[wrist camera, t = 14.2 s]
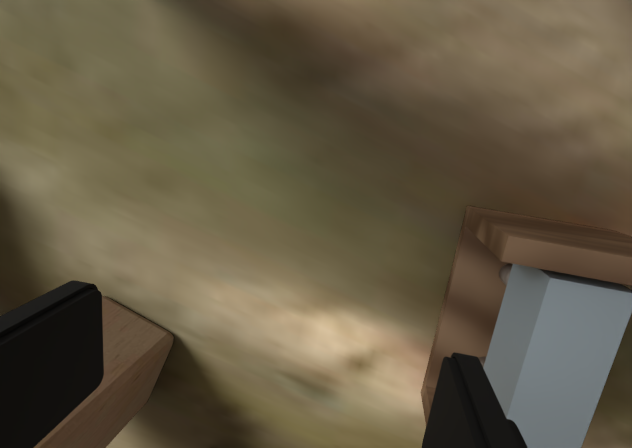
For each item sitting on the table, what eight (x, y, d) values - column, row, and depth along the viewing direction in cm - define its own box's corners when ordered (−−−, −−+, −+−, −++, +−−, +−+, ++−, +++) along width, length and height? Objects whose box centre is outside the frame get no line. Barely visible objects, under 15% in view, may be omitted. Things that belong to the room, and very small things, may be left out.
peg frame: (467, 205, 33) (508, 235, 22) (615, 230, 31) (737, 276, 21) (420, 392, 37) (437, 493, 27) (548, 422, 36) (620, 542, 25)
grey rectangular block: (516, 250, 29) (550, 277, 23) (586, 263, 28) (638, 294, 23) (472, 405, 32) (492, 463, 27) (533, 420, 32) (568, 482, 26)
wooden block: (180, 333, 41) (-1, 504, 21) (150, 401, 43) (-36, 608, 24) (101, 289, 41) (-145, 417, 22) (76, 359, 44) (-164, 528, 25)
